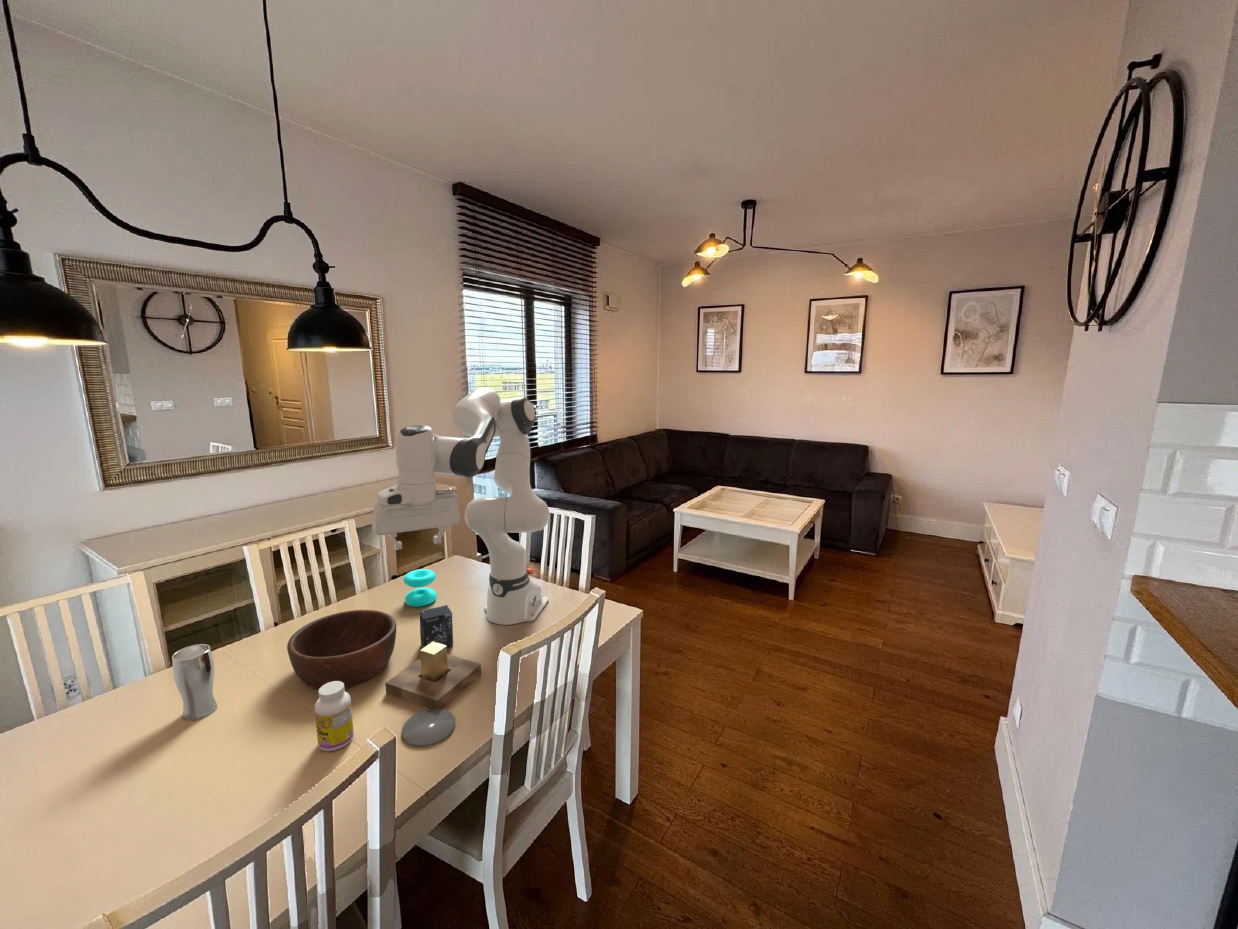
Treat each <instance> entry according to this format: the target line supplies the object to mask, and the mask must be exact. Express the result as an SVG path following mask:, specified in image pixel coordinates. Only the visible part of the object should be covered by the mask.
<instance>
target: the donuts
mask: <svg viewBox="0 0 1238 929" xmlns="http://www.w3.org/2000/svg"><path fill="white" fill-rule="evenodd" d="M436 577H437V575H436V573H435V571H433V570H432V569H427V568H419V569H414V570H411V571H409V572H407V573H406V574H405V575H404V577H403V583H404V584H405V585H406V586H407V587H410V588H414V589H412V590H410V591H409V592H407V593H406V595H405V597H404V601H405V603H406V605H408V606H410V607H415V608H416V607H418V608H419V607H424V606H425V607H426V606H428V605H431V604H432V603H433V602H435V601H436V600H437V592H436V591H435V590H434V589H433V588H429V587H426V586H430V584H432V583H434V581H435V580H436Z"/></svg>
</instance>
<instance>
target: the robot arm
mask: <svg viewBox="0 0 1238 929" xmlns="http://www.w3.org/2000/svg"><path fill="white" fill-rule="evenodd" d="M534 406H535V405H533V403H532V402H531V400H530V399H529V398H527V397H524V396H515V397H513V398H510V399H504V400H501V397H500V395H499V394H498V393H497V391H495V390H494V389H492V388H489V387H480V388H478V389H475V390H472V391H471V392H469V393H468V394H467V395H465V396H464V397H463V398H462V399H461V400H460V401H459V402H457V403H456V404H455V407H454V408H453V411H452V420H453V423H454V426H455V428H456V429H457V430H458V431H459V432H460V433H461V434H463V435H465V436H466V437H454V436H453V437H452V436H441V435H437V434H435V433H433V429H432V428H431V427H430V426H429V425H424V424H414V425H408V426H405V427H403V428H401V429H400V430H399V432H398V434H397V440H396V448H395V449H396V452H395V453H396V455H395V456H396V459H395V463H396V467H397V469H398V472H397V473H398V474H397V479H396V484H394V485H392V486H390V487H387V488H385V489H382V490H380V491H378V492H377V493H376V500H377V501H378V502H376V504H375V505H374V506H373V510H372V517H371V518H372V520H371V523H372V524H371V525H372V526H371V527H372V531H373V533H375V534H376V535H378V536H385V535H388V536H389V538H390V539H391V541H392V542H393V548H394V550H395V551H400V550H403V542H402V541H401V540H397V539H396V538H397V537H398V533H405V532H406V533H407V532H414V531H415V532H416V531H419V530H420V531H421V530H428V529H435V528H437V529H438V531H437V534H435V535H433V543H434V544H435V545H439V544H442V537H443V536H444V534H445V532H446V531H447V529H446V528H447V527H448V526H449V527H450V526H456V525H458V524H459V522H460V520H461V517H460V508H459V505H458V504H459V503H460V494H459V492H458V491H457V490H454V489H453V488H448V489H437V479H436V474H442V475H453V476H458V477H465V478H473V477H474V476H476V475H477V474H479V472H481V471H482V469H483V467H484V464H485V460H486V455H487V453H488V451H489V449H490V448H491V447H490V446H491V445H492V442H493V440H494V438H496V437H499V441H500V443H499V445H498V449H497V453H496V459H495V460H496V461H495V468H494V474H493V479H494V480H493V481H494V483H495V485H496V487H498V488H499V489H500V490H501V491H504V492H505V493H508V494H509V495H510V496H507V497H506V496H484V497H478V498H475V499H471V500H470V501H469V503H468V504H467V505H466V507H465V511H464V520H465V523H466V525H467V526H468V529H470V530H472V531H473V532H475V534H477V535H478V536H479V537H480V538H481V539H482V541H483V543H484V544H485V545H486V548H487V551H488V556H489V564H490V573H489V576H488V581H489V586H488V587H487V597H486V605H484V612H486V619H487V620H488V621H489V622H491V623H493V624H496V625H505V626H507V625H516V624H519V623H524V622H525V623H526V622H532V621H535V620H536V619H537V618H538V616H539V615H540V614H541V612H542V611H543V609H544V608H545V607H546V605H547V604H548V603H549V597H547V596H546V595H544V594H542V587H541V585H540V584H538V583H537V582H535V581H534V580H532V579H530V576H533V575H534V568H529V567H527V551H526V548H525V547H524V546H523V545H522V544H521V543H520V542H519V541H516V540H514V539H512V538H511V537H510V535H508V533H516V534H517V533H522V534H523V533H525V534H526V533H528V534H529V533H534V532H538V531H543V530H544V529H545V527H546V526H547V525H548V524H549V521H550V520H549V519H550V509H549V507H548V505H547V503H546V502H545V501H544V500H543V499H542V498H540V496H538V495H537V494H536V493H535V492H534V489H532V485H531V482H530V466H531V445H530V440H529V438H528V436H527V435H528V434H530V433H531V431H532V427H533V426H534V424H535V422H536V417H537V416H536V409H535V407H534ZM529 575H530V576H529ZM547 602H548V603H547Z"/></svg>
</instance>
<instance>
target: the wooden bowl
mask: <svg viewBox="0 0 1238 929" xmlns="http://www.w3.org/2000/svg"><path fill="white" fill-rule="evenodd" d="M396 636H397V622H396V620H395V618H394V617H393V616H392V615H390V614H389V613H386V612H383V611H380V610H374V609H355V610H354V609H353V610H348V611H342V612H337V613H331V614H329V615H326V616H323V617H320V618H317V619H315V620H313V621H311V622H308V623H307V624H305V625H304V626H302V627H301V628H299V629H297V631H296V632H294V633H293V634H292V636H290V638H289V640H288V642H287V646H286V649H287V654H288V658H289V661H290V664H291V667H292V669H293V671H294V673H295V674H296V675H295V676H297V678H298V679H299V680H301V682H302V683H303V684H305V685H306V686H309V687H311V688H313V689H318V690H319V689H320V688H321V687H322V686H323V685H325V684H326V683H329V682H333V681H341V682H343V683H344V688H350V687H352V686H356V685H359V684H361V683H364V682H366V681H368V680H369V679H372V678H373V677H375V676H376V675H377V674H378V673H380V672H381V671H382V670H383V669H384V668H385V667H386V666H387V664H388V663H389V661H390V660H391V658H392V655H393V653H394V652H393V651H394V649H395V644H396Z"/></svg>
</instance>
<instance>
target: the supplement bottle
mask: <svg viewBox="0 0 1238 929" xmlns="http://www.w3.org/2000/svg"><path fill="white" fill-rule="evenodd" d="M345 688H346V687H345ZM345 688H344V683H343V682H341V681H333V682H329V683H326V684H325V685H323V686H322V687H321V688H320V689H318V692H317V693H318V699H317V701H316V702H315V704H314V716H315V726H316V738H317V744H318V748H319V749H320V750H321V751H324V752H335V751H338V750H340V748H341V749H343V748H345V747H346V746H348V745H349V743H351V742H352V740H353V738H354V724H353V722H354V720H353V711H352V699H351V694H349V692H347V691H346V690H345ZM342 747H343V748H342ZM337 749H338V750H337Z"/></svg>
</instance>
